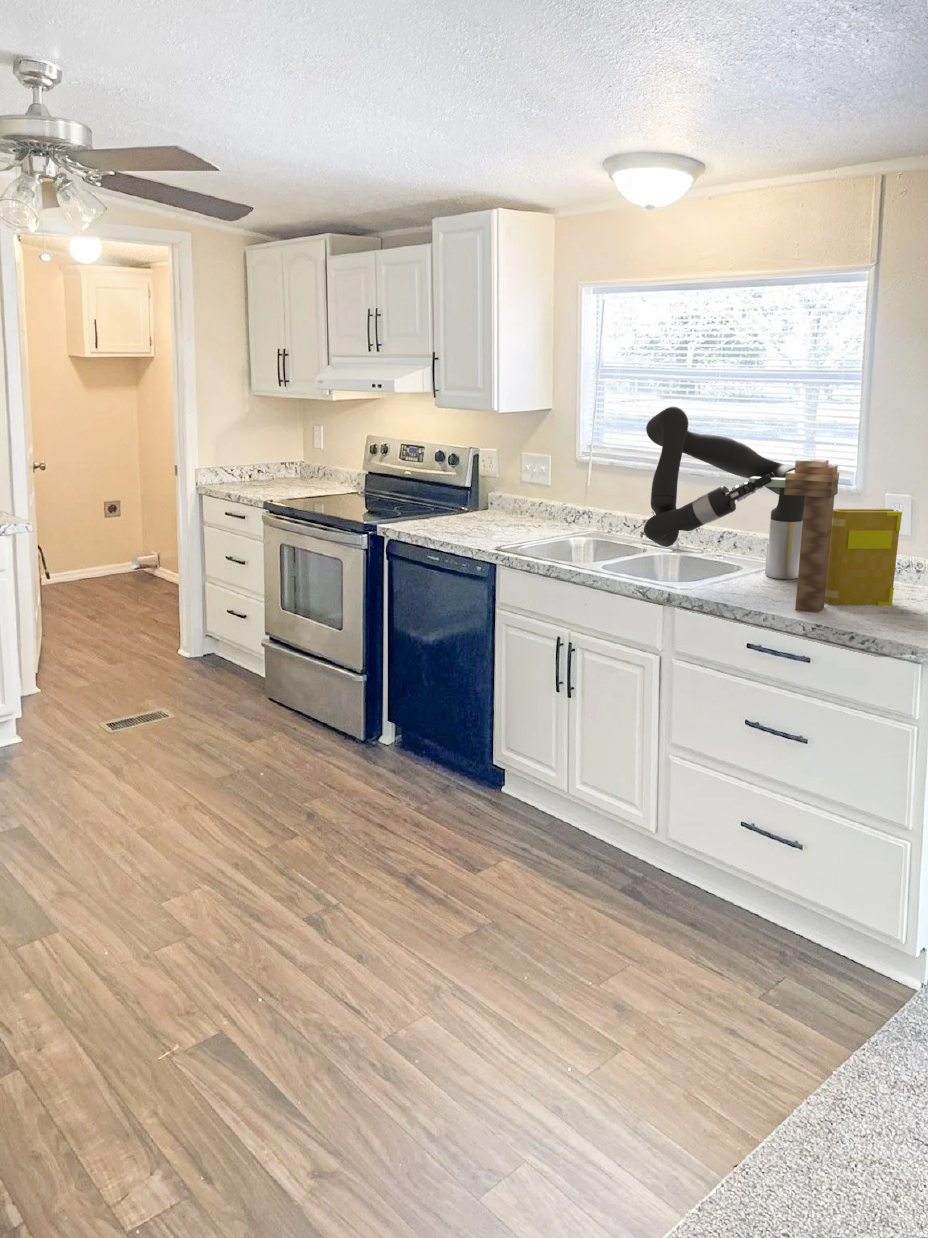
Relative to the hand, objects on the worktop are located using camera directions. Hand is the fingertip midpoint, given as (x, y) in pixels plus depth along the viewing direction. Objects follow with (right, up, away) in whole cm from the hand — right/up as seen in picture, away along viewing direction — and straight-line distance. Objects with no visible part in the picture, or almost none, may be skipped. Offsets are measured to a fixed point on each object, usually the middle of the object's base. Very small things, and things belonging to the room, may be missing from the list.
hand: (772, 476), depth 271 cm
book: (+25, -33, +10) cm, 43 cm away
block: (+3, -3, -1) cm, 4 cm away
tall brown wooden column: (+9, -34, +3) cm, 35 cm away
